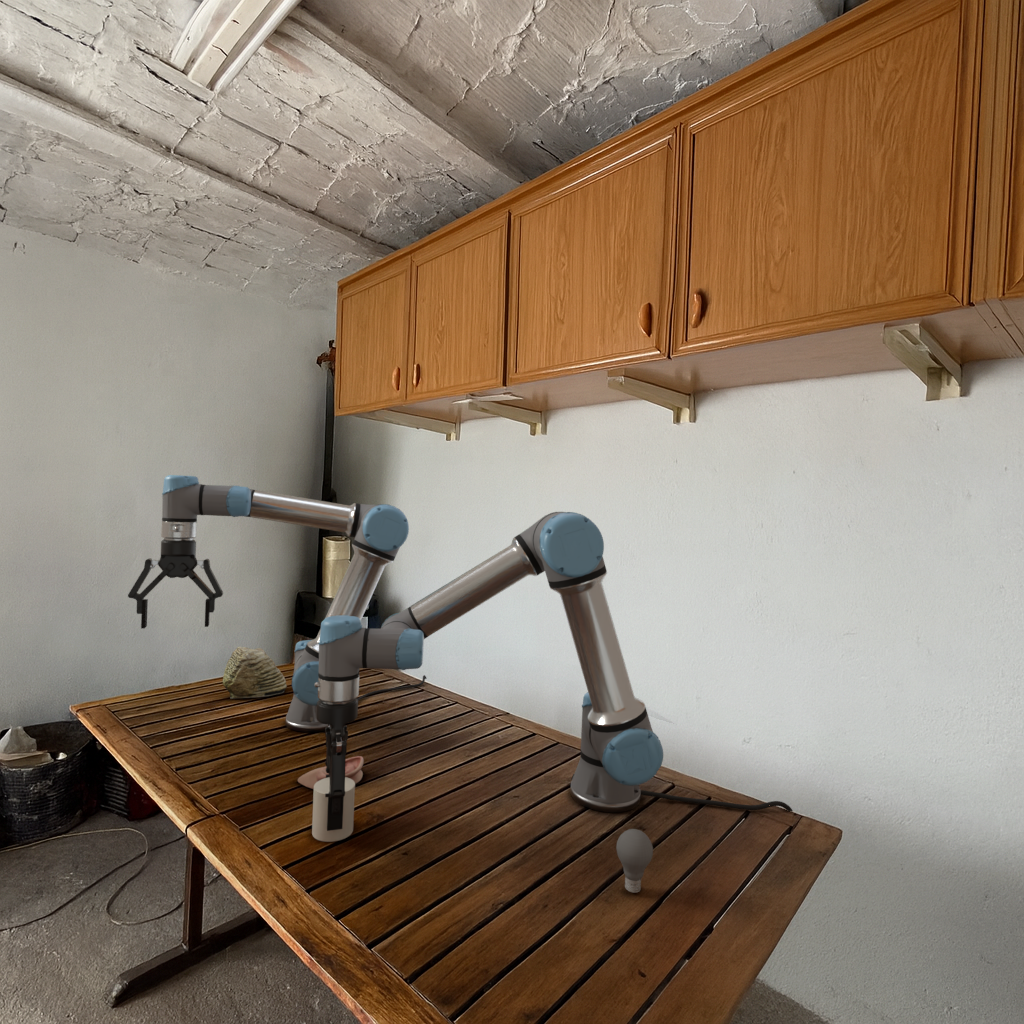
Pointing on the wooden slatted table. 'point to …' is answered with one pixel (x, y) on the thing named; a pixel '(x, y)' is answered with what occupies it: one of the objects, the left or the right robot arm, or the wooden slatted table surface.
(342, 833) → the can
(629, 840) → the light bulb
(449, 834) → the wooden slatted table surface
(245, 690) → the fossil
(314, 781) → the anatomical model
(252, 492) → the left robot arm
